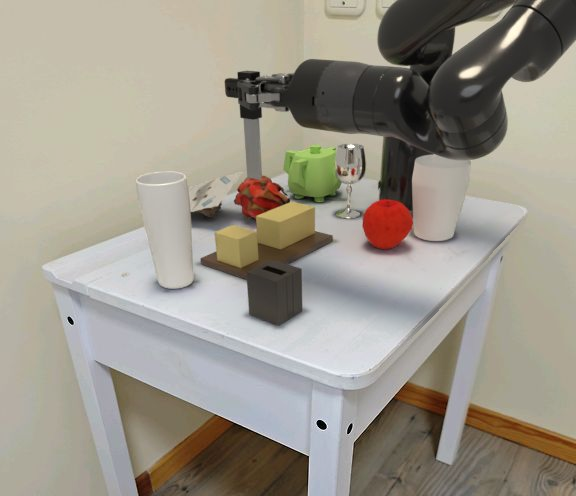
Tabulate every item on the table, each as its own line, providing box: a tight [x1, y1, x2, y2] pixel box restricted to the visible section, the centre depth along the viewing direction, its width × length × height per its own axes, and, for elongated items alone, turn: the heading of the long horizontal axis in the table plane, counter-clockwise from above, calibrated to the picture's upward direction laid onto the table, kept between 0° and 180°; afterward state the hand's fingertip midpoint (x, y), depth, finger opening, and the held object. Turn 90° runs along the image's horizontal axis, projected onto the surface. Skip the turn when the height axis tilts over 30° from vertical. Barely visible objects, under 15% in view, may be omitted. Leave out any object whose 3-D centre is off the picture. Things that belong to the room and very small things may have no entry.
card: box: [188, 170, 244, 218], centre depth 105 cm, size 11×15×5 cm
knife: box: [236, 70, 263, 180], centre depth 77 cm, size 2×3×14 cm
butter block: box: [255, 201, 316, 250], centre depth 92 cm, size 9×5×4 cm, turn 141°
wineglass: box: [334, 143, 367, 219], centre depth 102 cm, size 6×6×12 cm
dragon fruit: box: [233, 175, 291, 221], centre depth 101 cm, size 8×8×12 cm
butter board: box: [200, 230, 334, 281], centre depth 91 cm, size 20×11×1 cm, turn 140°
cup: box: [412, 154, 472, 242], centre depth 92 cm, size 9×9×12 cm
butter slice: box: [214, 224, 258, 268], centre depth 85 cm, size 4×5×4 cm
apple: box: [362, 199, 414, 250], centre depth 90 cm, size 8×8×7 cm
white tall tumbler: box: [135, 170, 195, 290], centre depth 78 cm, size 7×7×15 cm
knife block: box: [246, 260, 303, 326], centre depth 72 cm, size 5×5×6 cm
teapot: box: [283, 143, 343, 203], centre depth 113 cm, size 12×12×10 cm
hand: (233, 86), depth 76 cm, fingers closed on knife, 2 cm apart
